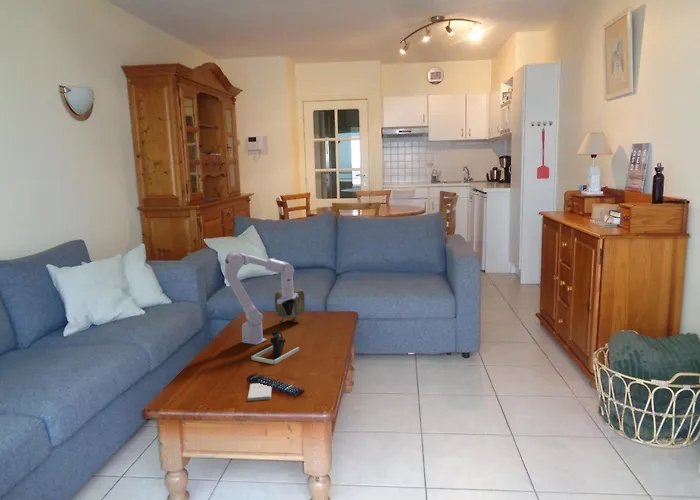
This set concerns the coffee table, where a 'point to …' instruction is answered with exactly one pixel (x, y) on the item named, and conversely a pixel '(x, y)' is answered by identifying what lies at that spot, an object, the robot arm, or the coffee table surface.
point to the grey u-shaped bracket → (258, 358)
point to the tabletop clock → (297, 308)
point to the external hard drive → (259, 392)
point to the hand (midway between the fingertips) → (288, 314)
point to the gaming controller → (277, 344)
